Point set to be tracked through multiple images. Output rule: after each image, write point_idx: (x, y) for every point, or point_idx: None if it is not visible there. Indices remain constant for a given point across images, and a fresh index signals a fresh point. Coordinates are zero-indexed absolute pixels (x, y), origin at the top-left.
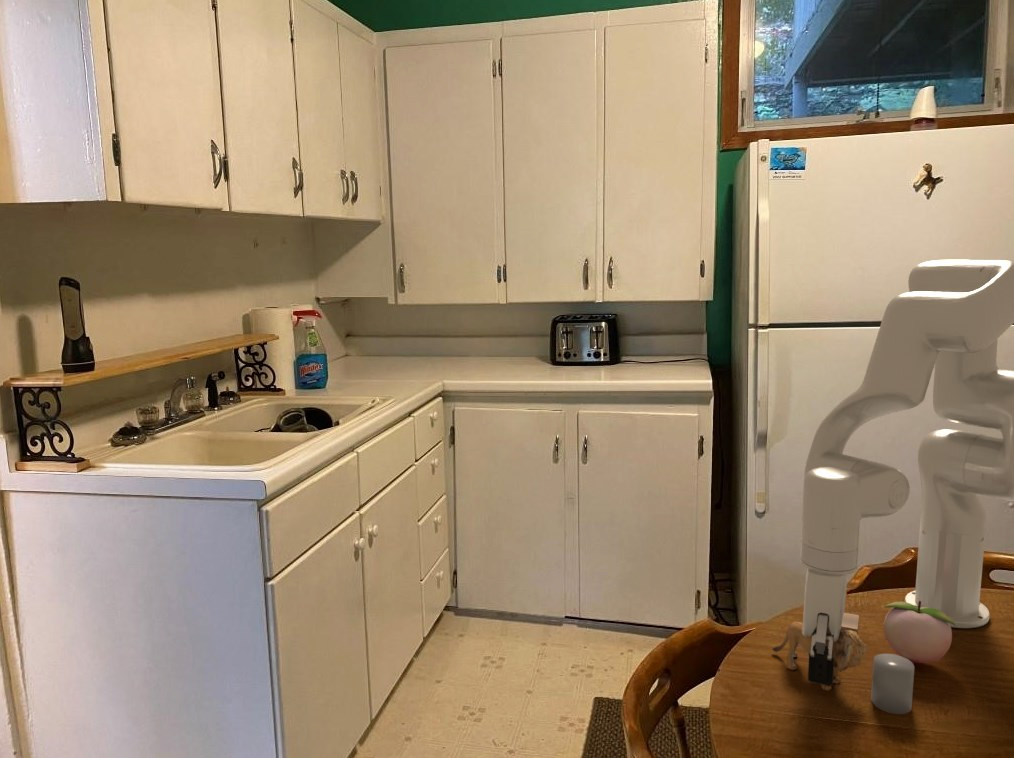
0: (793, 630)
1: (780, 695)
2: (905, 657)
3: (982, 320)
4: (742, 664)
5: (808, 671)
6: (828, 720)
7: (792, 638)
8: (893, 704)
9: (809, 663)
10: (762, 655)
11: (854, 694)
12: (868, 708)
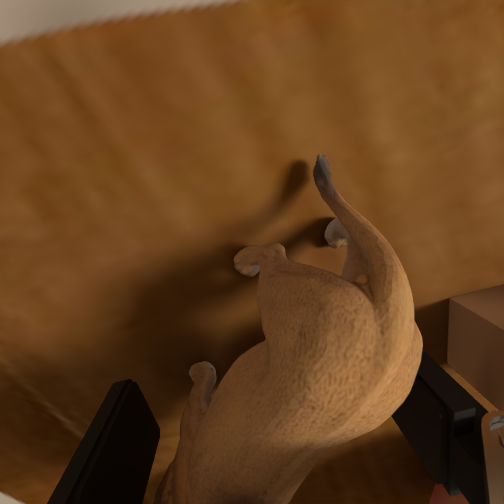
0: (292, 349)
1: (55, 291)
2: (431, 496)
3: None
4: (143, 81)
5: (99, 412)
6: (52, 422)
7: (266, 318)
8: None
9: (75, 457)
10: (272, 128)
11: None
12: None
